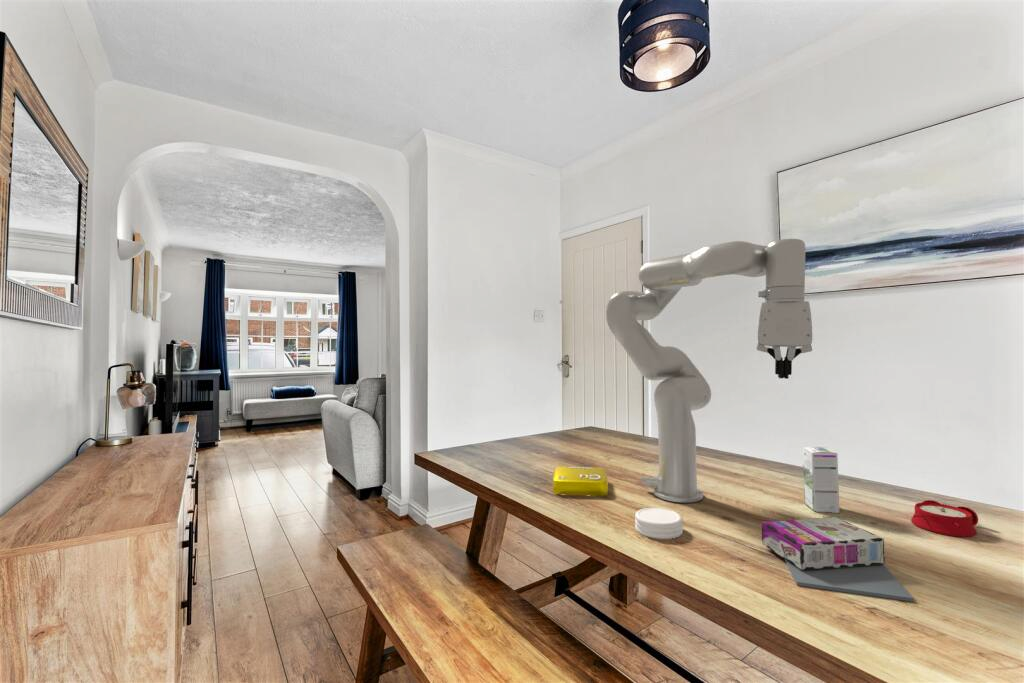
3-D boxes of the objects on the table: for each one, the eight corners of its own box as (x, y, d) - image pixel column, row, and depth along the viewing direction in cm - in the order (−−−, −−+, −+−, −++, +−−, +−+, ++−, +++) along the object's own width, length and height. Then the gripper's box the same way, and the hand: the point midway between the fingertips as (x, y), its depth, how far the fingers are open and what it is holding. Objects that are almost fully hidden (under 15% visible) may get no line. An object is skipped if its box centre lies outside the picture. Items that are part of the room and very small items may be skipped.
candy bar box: (801, 572, 81) (886, 565, 83) (800, 544, 81) (885, 537, 83) (761, 545, 92) (836, 539, 94) (760, 520, 92) (836, 515, 94)
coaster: (658, 544, 95) (658, 527, 95) (625, 527, 104) (625, 511, 104) (692, 534, 100) (692, 518, 100) (658, 518, 109) (658, 504, 109)
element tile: (606, 481, 139) (605, 465, 139) (608, 498, 124) (608, 480, 124) (556, 480, 141) (555, 464, 141) (552, 496, 126) (552, 478, 126)
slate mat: (796, 585, 78) (796, 581, 78) (777, 545, 93) (777, 542, 93) (913, 601, 73) (913, 598, 73) (873, 556, 88) (873, 553, 88)
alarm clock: (903, 511, 101) (920, 483, 110) (906, 537, 102) (922, 507, 111) (970, 526, 93) (982, 494, 101) (972, 554, 93) (984, 520, 102)
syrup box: (840, 513, 109) (839, 452, 109) (812, 512, 110) (811, 451, 111) (829, 505, 115) (828, 446, 115) (802, 503, 116) (801, 446, 116)
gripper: (748, 295, 102) (747, 378, 103) (828, 293, 96) (826, 381, 97) (745, 297, 109) (744, 375, 109) (820, 296, 103) (818, 377, 104)
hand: (783, 377), depth 103 cm, fingers closed
